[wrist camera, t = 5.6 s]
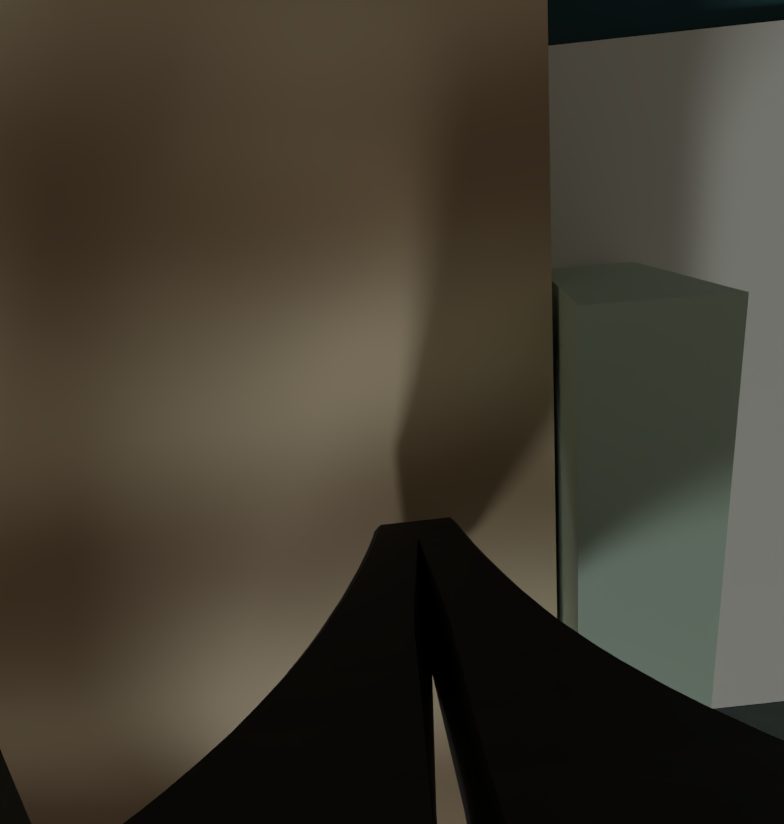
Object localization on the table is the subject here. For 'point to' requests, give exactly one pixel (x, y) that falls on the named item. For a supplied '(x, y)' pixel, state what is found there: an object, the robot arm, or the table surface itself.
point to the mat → (695, 257)
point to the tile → (645, 462)
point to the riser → (252, 352)
